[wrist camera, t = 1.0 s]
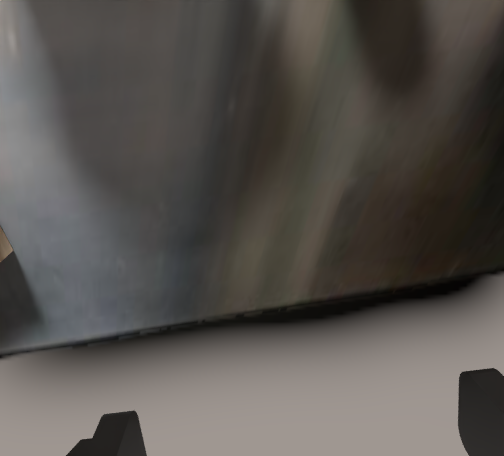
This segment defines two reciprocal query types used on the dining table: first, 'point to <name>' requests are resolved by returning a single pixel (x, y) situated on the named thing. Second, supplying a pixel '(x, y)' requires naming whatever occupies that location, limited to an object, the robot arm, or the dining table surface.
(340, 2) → the dining table surface
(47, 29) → the dining table surface
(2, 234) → the maple block
